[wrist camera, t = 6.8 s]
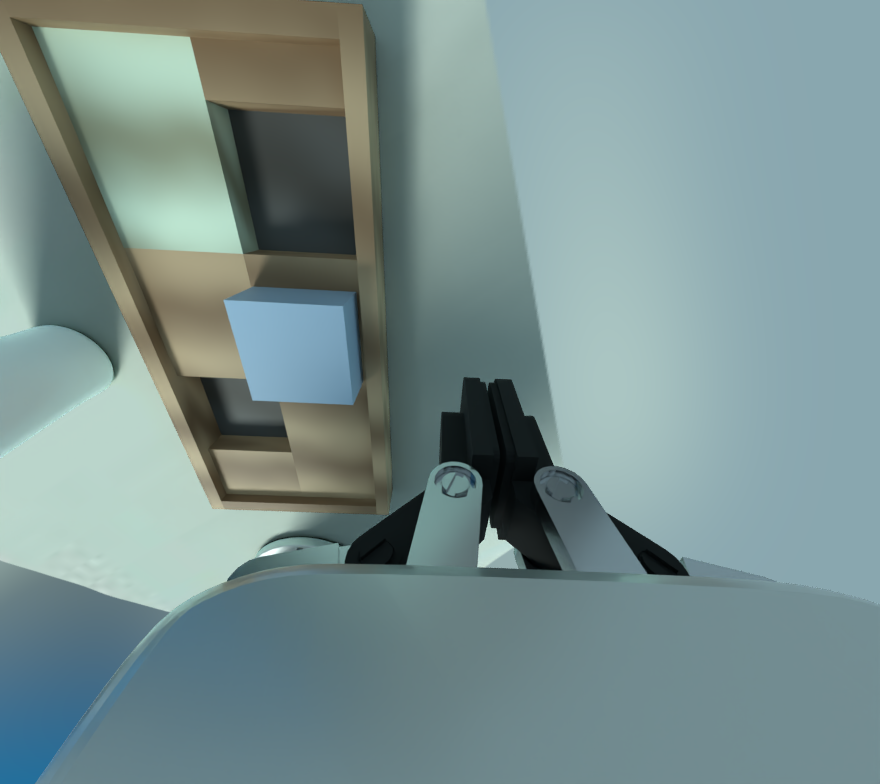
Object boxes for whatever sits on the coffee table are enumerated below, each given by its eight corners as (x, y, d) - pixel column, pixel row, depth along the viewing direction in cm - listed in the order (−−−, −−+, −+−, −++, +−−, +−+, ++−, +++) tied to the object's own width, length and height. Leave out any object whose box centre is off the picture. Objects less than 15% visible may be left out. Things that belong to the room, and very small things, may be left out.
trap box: (392, 489, 30) (388, 514, 28) (231, 484, 30) (212, 508, 27) (375, 36, 15) (362, 4, 13) (44, 14, 15) (-35, -24, 12)
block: (363, 381, 22) (353, 405, 19) (275, 377, 22) (252, 400, 19) (356, 291, 19) (342, 306, 16) (253, 286, 19) (223, 300, 16)
